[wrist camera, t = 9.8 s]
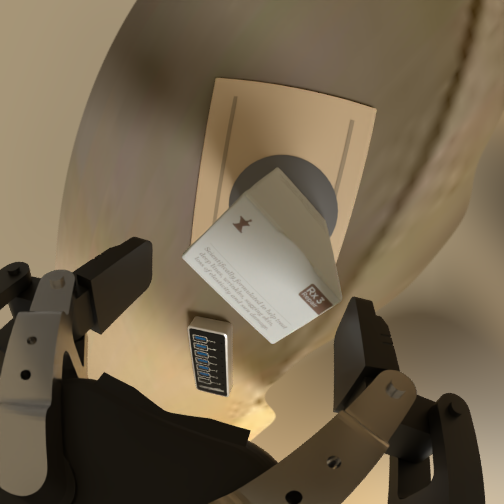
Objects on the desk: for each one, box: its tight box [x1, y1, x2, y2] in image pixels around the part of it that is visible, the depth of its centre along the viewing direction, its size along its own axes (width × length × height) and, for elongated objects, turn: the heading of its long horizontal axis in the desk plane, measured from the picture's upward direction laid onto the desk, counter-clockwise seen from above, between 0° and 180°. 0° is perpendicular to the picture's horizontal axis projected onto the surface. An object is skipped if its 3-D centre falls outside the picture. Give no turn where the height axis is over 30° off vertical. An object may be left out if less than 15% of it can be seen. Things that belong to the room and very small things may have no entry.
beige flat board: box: [191, 78, 377, 263], centre depth 22 cm, size 17×13×1 cm
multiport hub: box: [188, 316, 233, 397], centre depth 30 cm, size 4×11×2 cm, turn 178°
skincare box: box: [182, 167, 342, 344], centre depth 16 cm, size 6×4×12 cm
